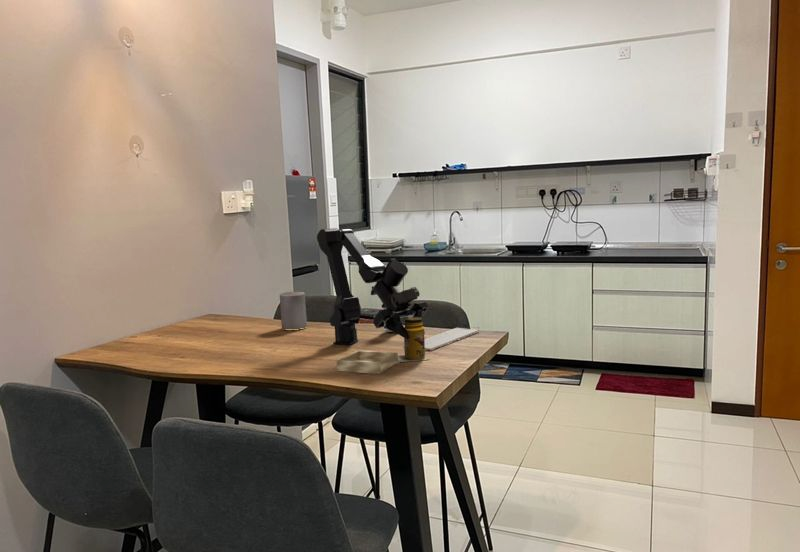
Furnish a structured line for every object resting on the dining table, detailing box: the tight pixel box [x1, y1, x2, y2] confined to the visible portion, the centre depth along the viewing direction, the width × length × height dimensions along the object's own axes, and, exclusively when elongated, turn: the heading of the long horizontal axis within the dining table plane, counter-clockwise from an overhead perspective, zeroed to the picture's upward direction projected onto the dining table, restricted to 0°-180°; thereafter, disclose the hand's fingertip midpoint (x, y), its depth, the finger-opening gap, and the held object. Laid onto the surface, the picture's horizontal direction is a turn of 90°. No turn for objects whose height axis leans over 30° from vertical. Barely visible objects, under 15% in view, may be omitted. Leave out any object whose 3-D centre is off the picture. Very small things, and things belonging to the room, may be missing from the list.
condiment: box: [398, 317, 429, 363], centre depth 175 cm, size 7×8×12 cm
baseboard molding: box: [424, 324, 480, 351], centre depth 200 cm, size 31×3×12 cm
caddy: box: [336, 349, 399, 375], centre depth 169 cm, size 13×13×3 cm
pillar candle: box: [279, 291, 308, 330], centre depth 229 cm, size 10×10×15 cm
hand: (416, 336), depth 175 cm, fingers closed on condiment, 6 cm apart
